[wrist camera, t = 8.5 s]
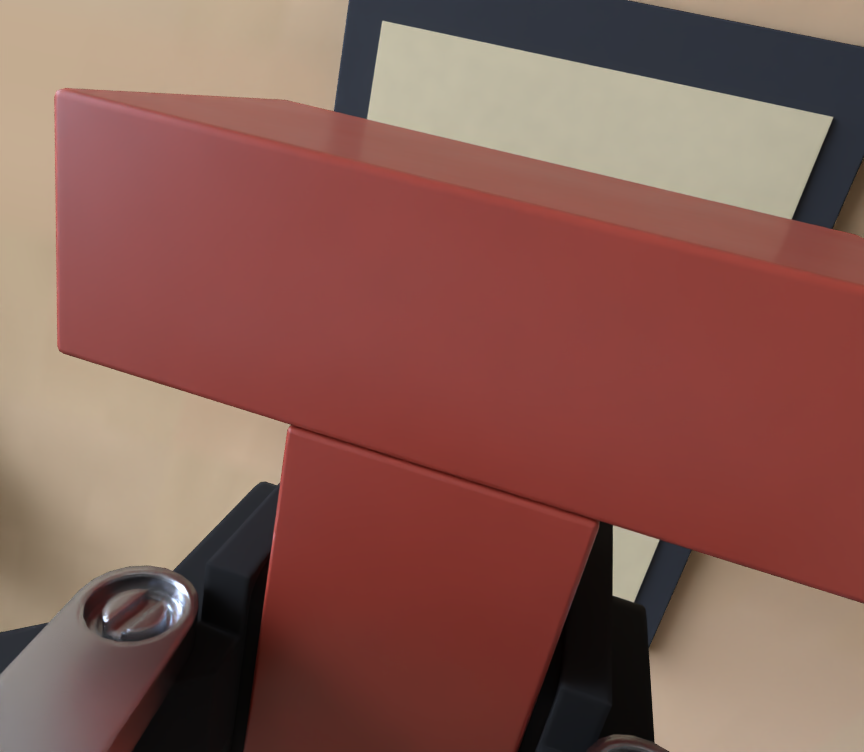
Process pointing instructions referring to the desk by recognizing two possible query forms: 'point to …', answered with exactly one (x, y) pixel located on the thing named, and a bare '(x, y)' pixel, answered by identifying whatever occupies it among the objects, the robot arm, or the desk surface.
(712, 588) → the desk surface
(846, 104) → the desk mat
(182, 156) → the letter I
